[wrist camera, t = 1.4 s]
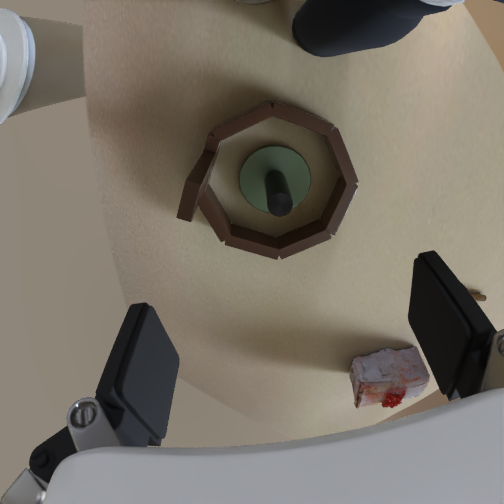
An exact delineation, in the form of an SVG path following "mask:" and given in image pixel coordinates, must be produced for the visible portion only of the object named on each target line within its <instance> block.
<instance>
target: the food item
mask: <svg viewBox="0 0 504 504" xmlns="http://www.w3.org/2000/svg"><path fill="white" fill-rule="evenodd" d="M429 378H430V375H429V373H428V371H427V368H426V366H425V364H424V362H423V359H422V357H421V355H420V353H419V351H418V348H417V347H416V346H414V347H411V348H409V349H402V350H398V351H394V350H392V349H390V348H385V349H383V350H380V351H379V352H378V353H372V354H370V355H368V356H363V357H360V356H358V357H357V358H354V360H353V361H352V366H351V367H350V380H351V382H352V387H353V392H354V397H355V403H354V404H355V406H356V408H360V407H363V406H364V407H365V406H370V405H376V404H381V403H382V406H383V407H388V406H389V407H391V408H393V407H394V406H398V404H401V403H402V402H401V401H402V399H406V398H411V397H416V396H419V395H420V394H421V393H422V392H423V391H424V389H425V387H426V386H427V384H428V382H429Z"/></svg>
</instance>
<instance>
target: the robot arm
mask: <svg viewBox="0 0 504 504" xmlns="http://www.w3.org/2000/svg"><path fill="white" fill-rule="evenodd" d="M6 69H7V49H6V44H5V41H4V38H3V37H2V35H1V34H0V91H1V88H2V85H3V82H4V79H5V74H6ZM408 320H409V324H410V326H411V328H412V330H413V332H414V334H415V336H416V338H417V340H418V342H419V344H420V346H421V349H422V351H423V353H424V355H425V357H426V359H427V361H428V364H429V366H430V368H431V370H432V372H433V375H434V377H435V379H436V382H437V384H438V386H439V388H440V391H441V393H442V394H444V395H445V394H446V395H447V397H448V399H449V401H451V400H454V399H457V398H459V397H460V398H461V399H459V400H457V401H454V402H451V403H448V404H445V405H442V406H439V407H436V408H433V409H430V410H427V411H423V412H420V413H416V414H413V415H410V416H406V417H403V418H400V419H396V420H392V421H388V422H385V423H381V424H377V425H373V426H368V427H364V428H360V429H355V430H350V431H345V432H341V433H335V434H330V435H325V436H319V437H313V438H306V439H300V440H292V441H285V442H277V443H267V444H256V445H244V446H230V447H207V448H206V447H204V448H162V447H161V448H160V447H147V446H160V445H161V439H162V438H165V436H166V432H167V426H168V420H169V414H170V409H171V404H172V398H173V393H174V388H175V383H176V378H177V373H178V368H179V355H178V353H177V351H176V350H175V348H174V346H173V344H172V342H171V340H170V338H169V337H168V335H167V333H166V331H165V329H164V327H163V325H162V323H161V321H160V319H159V317H158V315H157V313H156V311H155V309H154V308H153V307H152V306H149V305H148V304H147V303H138V304H132V305H131V306H130V307H129V310H128V312H127V314H126V317H125V319H124V322H123V324H122V326H121V328H120V331H119V333H118V336H117V338H116V341H115V343H114V345H113V348H112V350H111V353H110V356H109V358H108V361H107V363H106V366H105V368H104V371H103V374H102V376H101V379H100V382H99V384H98V387H97V390H96V396H95V399H94V398H91V397H86V398H82V399H80V400H78V401H76V402H75V403H74V404H73V405H72V406H71V407H70V409H69V411H68V413H67V418H66V420H67V425H68V426H66V427H65V428H63V429H62V430H60V431H59V432H58V433H56V434H55V435H53V436H52V437H50V438H49V439H47V440H46V441H45V442H43V443H42V444H40V445H39V446H37V447H36V448H35V449H34V451H33V452H32V454H31V456H30V461H29V465H30V469H29V470H28V469H27V468H25V469H24V471H23V472H22V473H21V474H20V475H19V476H18V478H17V479H16V480H15V481H14V482H13V484H12V485H11V486H10V487H9V488H8V490H7V491H6V492H5V493H4V494H3V496H2V498H1V501H0V504H504V329H502V330H500V331H498V332H497V331H496V329H495V328H494V326H493V325H492V324H491V322H490V321H489V319H488V318H487V316H486V315H485V313H484V312H483V311H482V309H481V308H480V306H479V305H478V304H477V302H476V301H475V300H474V298H473V297H472V296H471V294H470V293H469V292H468V290H467V289H466V288H465V286H464V285H463V284H462V283H461V282H460V281H459V280H458V279H457V277H456V276H455V275H454V274H453V272H452V271H451V270H450V269H449V267H448V266H447V265H446V264H445V262H444V261H443V260H442V259H441V257H440V256H439V255H438V254H437V253H436V252H435V251H433V250H432V251H428V252H423V253H420V254H419V255H418V258H416V259H415V260H414V266H413V277H412V287H411V296H410V304H409V312H408Z"/></svg>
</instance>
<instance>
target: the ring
mask: <svg viewBox="0 0 504 504" xmlns="http://www.w3.org/2000/svg"><path fill="white" fill-rule="evenodd" d="M272 116H274V117H277V118H280V119H283V120H286V121H289V122H291V123H294V124H297V125H300V126H302V127H305V128H308V129H310V130H313V131H315V132H318V133H321V134H323V137H324V139H325V141H326V144H327V146H328V148H329V151H330V153H331V156H332V158H333V161H334V163H335V165H336V168H337V170H338V173H339V175H340V177H339V180H338V182H337V184H336V186H335V188H334V191H333V193H332V195H331V197H330V200H329V202H328V204H327V206H326V208H325V210H324V213H323V215H322V217H321V219H319V220H317V221H314V222H312V223H310V224H307V225H305V226H303V227H300V228H298V229H296V230H293V231H291V232H289V233H286V234H284V235H282V236H279V237H274V236H271V235H268V234H264V233H261V232H258V231H254V230H251V229H248V228H244V227H241V226H237V225H234V224H232V223H231V221H230V220H229V218H228V216H227V214H226V213H225V211H224V209H223V208H222V206H221V204H220V203H219V201H218V199H217V197H216V196H215V194H214V192H213V191H212V189H211V187H210V185H209V184H208V183H209V180H210V176H211V173H212V170H213V166H214V163H215V160H216V157H217V153H218V150H219V147H220V144H221V141H222V140H224V139H226V138H228V137H230V136H232V135H234V134H236V133H238V132H240V131H242V130H244V129H246V128H248V127H250V126H253V125H255V124H257V123H259V122H261V121H263V120H265V119H268V118H270V117H272ZM357 182H358V179H357V176H356V173H355V170H354V168H353V165H352V162H351V160H350V157H349V155H348V152H347V150H346V147H345V145H344V142H343V140H342V137H341V135H340V132H339V130H338V128H336V127H335V126H334V124H332V123H330V122H329V121H327V120H325V119H322V118H320V117H317V116H314V115H312V114H309V113H307V112H304V111H301V110H299V109H296V108H293V107H290V106H288V105H285V104H282V103H279V102H276V101H272V104H271V105H270V103H269V101H266V102H264V103H262V104H259V105H257V106H255V107H253V108H251V109H249V110H247V111H245V112H243V113H240V114H238V115H236V116H234V117H232V118H230V119H228V120H226V121H224V122H222V123H220V124H219V125H217V126H215V127H214V128H213V130H211V132H210V133H209V134H208V137H207V140H206V143H205V147H204V150H203V153H202V155H201V156H200V158H199V160H198V161H197V163H196V165H195V166H194V168H193V169H192V171H191V173H190V174H189V176H188V178H187V180H186V182H185V186H184V190H183V193H182V197H181V201H180V205H179V209H178V213H177V218H178V219H182V220H185V221H189V222H191V221H192V219H193V216H194V213H195V211H196V208H197V206H198V205H199V207H200V209H201V210H202V212H203V214H204V215H205V217H206V218H207V220H208V222H209V223H210V225H211V227H212V228H213V230H214V231H215V233H216V235H217V236H218V238H219V239H220V241H221V242H223V241H225V245H227V246H231V247H234V248H238V249H241V250H245V251H248V252H252V253H255V254H259V255H262V256H266V257H269V258H273V259H276V260H277V259H278V257H279V256H280V258H281V259H284V258H286V257H288V256H291V255H293V254H296V253H298V252H300V251H303V250H305V249H308V248H310V247H312V246H315V245H317V244H319V243H322V242H324V241H327V240H329V239H331V235H330V234H333V235H335V234H336V232H337V230H338V228H339V226H340V224H341V222H342V220H343V218H344V216H345V213H346V211H347V209H348V207H349V205H350V203H351V201H352V199H353V197H354V195H355V192H356V190H357V188H358V186H357V185H356V184H355V183H357Z"/></svg>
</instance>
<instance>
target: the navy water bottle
mask: <svg viewBox="0 0 504 504" xmlns="http://www.w3.org/2000/svg"><path fill="white" fill-rule="evenodd" d="M464 1H465V0H306V2H305V3H304V4H303V6H302V7H301V8H300V10H299V11H298V12H297V14H296V16H295V18H294V20H293V25H292V30H293V35H294V38H295V40H296V41H297V43H298V45H299V46H301V47H302V48H303V49H304V50H305V51H306V52H308V53H310V54H312V55H315V56H320V57H331V56H336V55H341V54H346V53H351V52H356V51H361V50H367V49H372V48H378V47H384V46H386V45H389V44H392V43H395V42H397V41H398V40H400V39H402V38H403V37H404V36H405V35H407V34H408V33H409V32H410V31H412V30H413V29H414V28H415V27H416V26H417V25H418V23H419V22H420V21H421V19H422V18H423V16H425V15H429V14H434V13H438V12H442V11H446V10H447V9H449V8H450V7H451V6H452V5H454V4H459V3H462V2H464ZM494 1H498V2H501V3H504V0H494Z"/></svg>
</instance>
